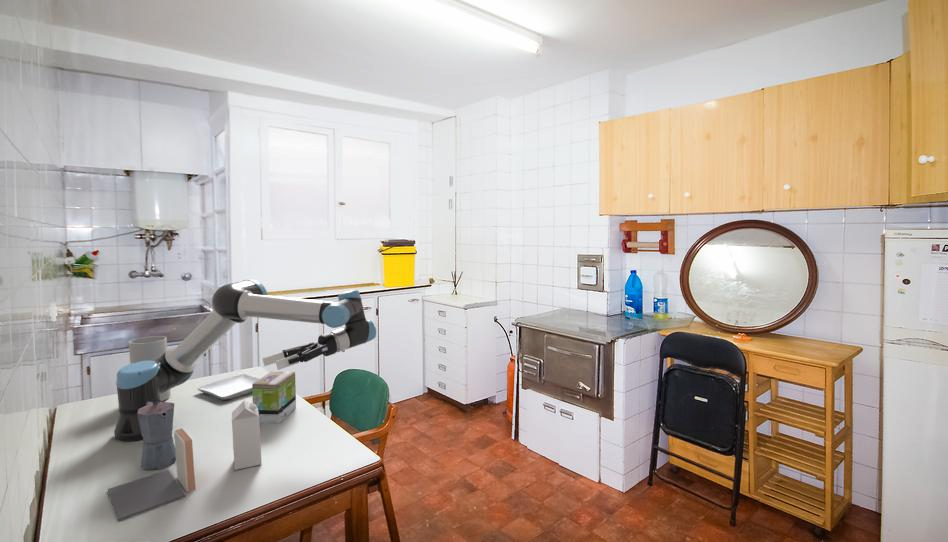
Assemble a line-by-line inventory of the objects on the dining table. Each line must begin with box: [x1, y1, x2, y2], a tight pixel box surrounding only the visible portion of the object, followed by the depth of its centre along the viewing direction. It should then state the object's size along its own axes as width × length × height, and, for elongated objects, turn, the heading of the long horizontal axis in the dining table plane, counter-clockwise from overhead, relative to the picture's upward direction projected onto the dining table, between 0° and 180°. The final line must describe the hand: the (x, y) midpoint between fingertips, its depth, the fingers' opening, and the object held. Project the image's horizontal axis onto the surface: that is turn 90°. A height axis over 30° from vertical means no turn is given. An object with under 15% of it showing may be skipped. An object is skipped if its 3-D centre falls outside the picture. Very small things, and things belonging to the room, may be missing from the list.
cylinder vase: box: [128, 335, 171, 402], centre depth 188 cm, size 12×12×25 cm
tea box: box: [251, 371, 297, 424], centre depth 173 cm, size 15×10×15 cm
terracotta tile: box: [173, 427, 196, 493], centre depth 127 cm, size 10×2×14 cm, turn 45°
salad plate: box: [196, 373, 260, 401], centre depth 199 cm, size 21×21×3 cm
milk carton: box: [231, 397, 262, 471], centre depth 138 cm, size 7×7×19 cm
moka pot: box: [137, 399, 176, 471], centre depth 138 cm, size 10×15×20 cm, turn 58°
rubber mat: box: [106, 469, 186, 522], centre depth 123 cm, size 18×14×1 cm
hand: (269, 363), depth 146 cm, fingers open, 13 cm apart
